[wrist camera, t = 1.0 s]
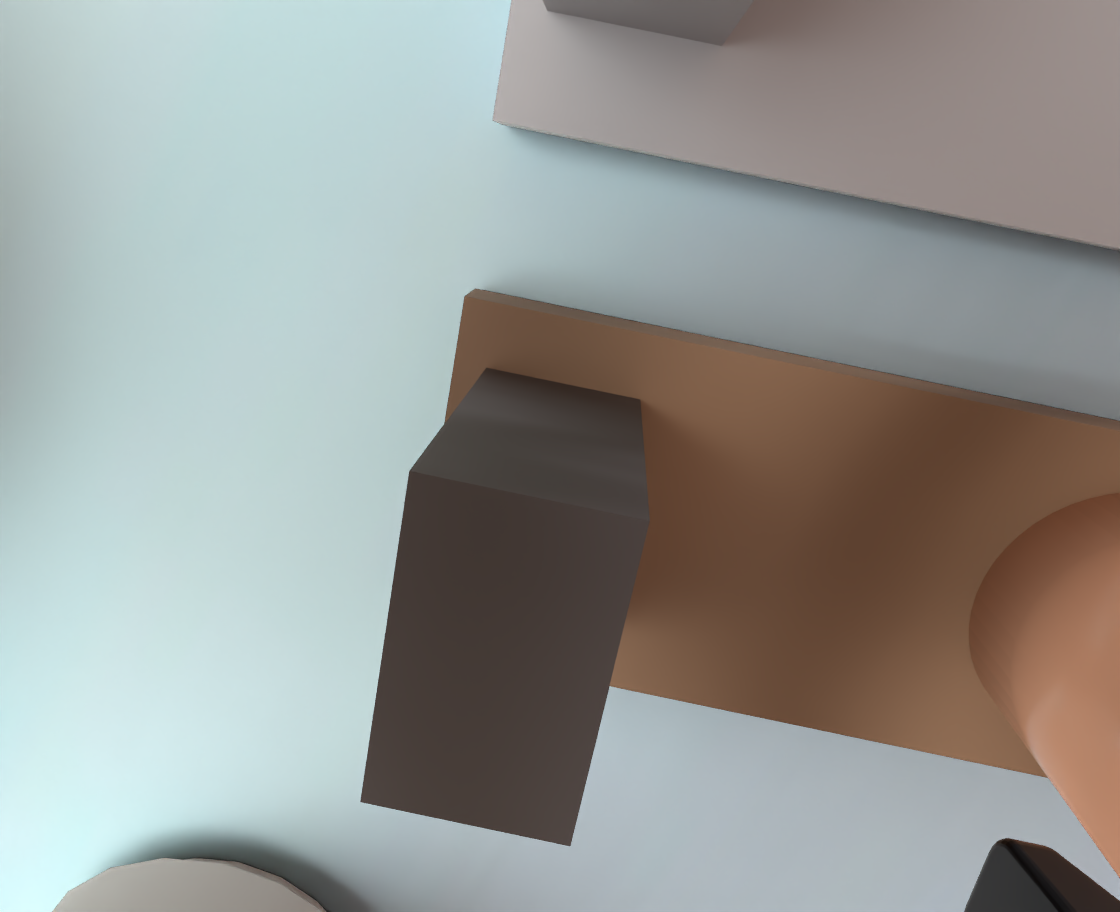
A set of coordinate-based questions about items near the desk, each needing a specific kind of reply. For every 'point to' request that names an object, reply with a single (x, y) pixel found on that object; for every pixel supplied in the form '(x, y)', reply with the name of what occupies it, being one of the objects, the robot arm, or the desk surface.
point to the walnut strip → (693, 554)
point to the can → (186, 889)
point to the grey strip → (845, 97)
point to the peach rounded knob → (1060, 655)
